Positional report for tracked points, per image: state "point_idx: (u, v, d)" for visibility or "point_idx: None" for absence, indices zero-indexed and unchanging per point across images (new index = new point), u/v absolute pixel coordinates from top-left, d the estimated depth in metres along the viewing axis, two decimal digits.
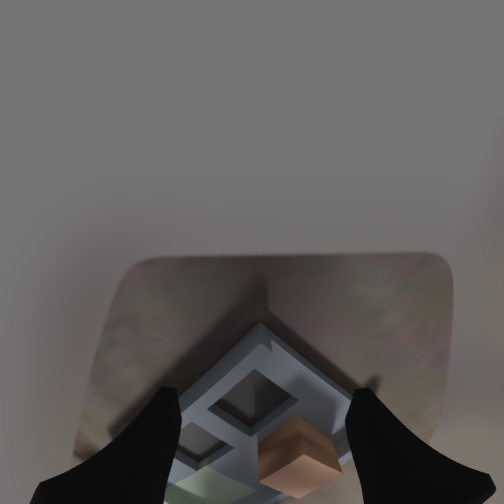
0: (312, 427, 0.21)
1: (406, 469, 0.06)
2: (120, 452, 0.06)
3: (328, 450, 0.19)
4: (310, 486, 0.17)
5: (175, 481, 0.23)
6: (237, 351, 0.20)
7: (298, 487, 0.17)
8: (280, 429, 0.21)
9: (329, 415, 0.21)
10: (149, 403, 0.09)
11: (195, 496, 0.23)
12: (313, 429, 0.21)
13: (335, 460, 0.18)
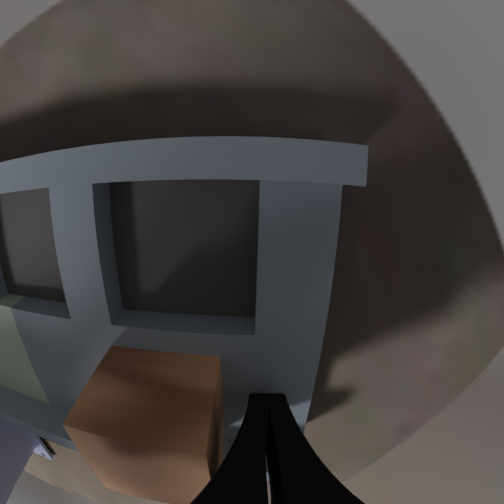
0: (221, 395, 0.11)
1: (283, 488, 0.06)
2: (241, 468, 0.06)
3: (219, 454, 0.10)
4: (145, 492, 0.08)
5: None
6: None
7: (123, 481, 0.07)
8: (172, 356, 0.10)
9: None
10: (248, 412, 0.09)
11: None
12: (221, 401, 0.11)
13: None
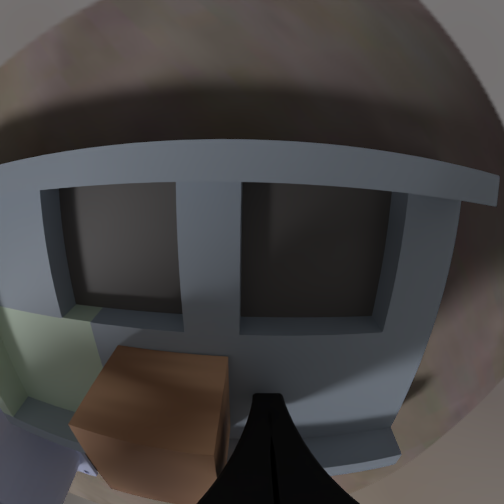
0: (228, 396, 0.11)
1: (278, 488, 0.06)
2: (246, 468, 0.06)
3: (225, 455, 0.10)
4: (150, 492, 0.08)
5: (9, 304, 0.10)
6: None
7: (128, 481, 0.07)
8: (180, 356, 0.10)
9: (372, 390, 0.12)
10: (253, 412, 0.09)
11: (17, 354, 0.11)
12: (227, 401, 0.11)
13: None
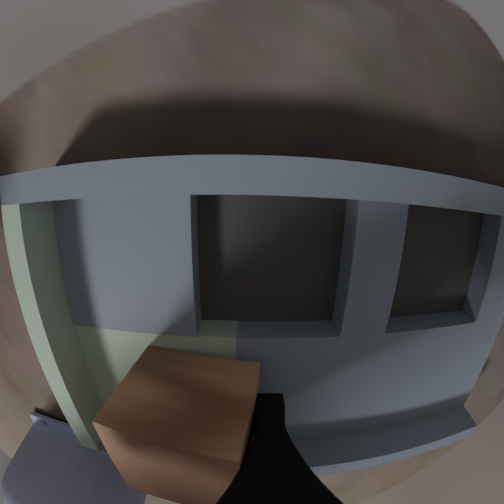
0: None
1: (264, 488, 0.06)
2: (262, 469, 0.06)
3: None
4: (168, 493, 0.08)
5: (111, 324, 0.11)
6: None
7: (147, 481, 0.08)
8: (211, 360, 0.11)
9: (460, 372, 0.12)
10: (265, 412, 0.09)
11: (109, 380, 0.12)
12: None
13: None
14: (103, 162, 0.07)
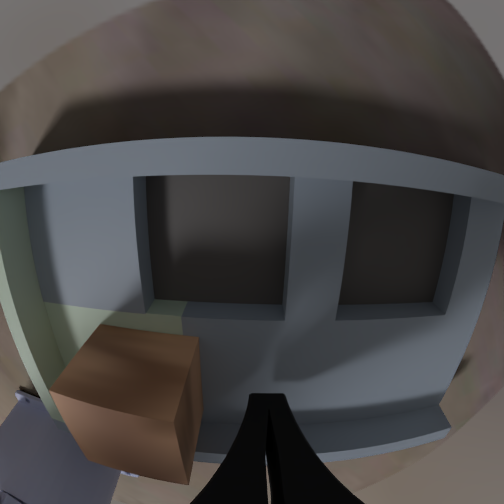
0: (199, 375, 0.12)
1: (283, 488, 0.06)
2: (241, 468, 0.06)
3: (194, 432, 0.10)
4: (122, 464, 0.08)
5: (73, 301, 0.11)
6: None
7: (102, 451, 0.08)
8: (154, 335, 0.11)
9: (431, 368, 0.12)
10: (248, 412, 0.09)
11: None
12: (198, 381, 0.12)
13: (192, 456, 0.10)
14: (52, 153, 0.07)
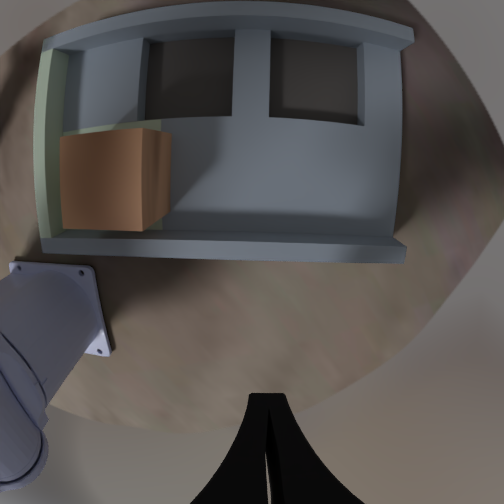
0: (169, 167, 0.16)
1: (283, 488, 0.06)
2: (241, 468, 0.06)
3: (157, 199, 0.14)
4: (92, 214, 0.12)
5: (86, 124, 0.15)
6: None
7: (79, 200, 0.12)
8: None
9: (368, 181, 0.16)
10: (248, 412, 0.09)
11: None
12: (167, 168, 0.15)
13: (151, 215, 0.14)
14: (101, 20, 0.11)
